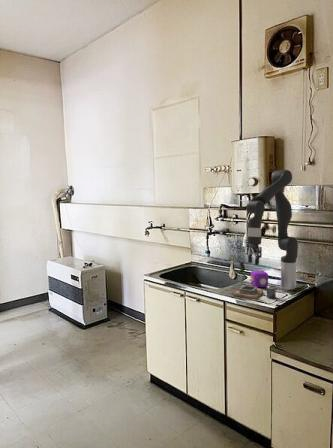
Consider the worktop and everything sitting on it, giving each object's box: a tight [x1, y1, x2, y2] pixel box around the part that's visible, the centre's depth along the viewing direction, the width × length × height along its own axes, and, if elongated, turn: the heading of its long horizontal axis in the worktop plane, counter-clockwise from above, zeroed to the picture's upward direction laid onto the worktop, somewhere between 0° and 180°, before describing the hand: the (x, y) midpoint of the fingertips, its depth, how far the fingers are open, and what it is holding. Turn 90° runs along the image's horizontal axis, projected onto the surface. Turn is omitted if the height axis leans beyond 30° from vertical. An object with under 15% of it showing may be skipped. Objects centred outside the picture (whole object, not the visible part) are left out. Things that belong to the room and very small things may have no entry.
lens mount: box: [232, 284, 264, 300], centre depth 211 cm, size 14×14×4 cm
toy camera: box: [250, 269, 269, 288], centre depth 227 cm, size 11×14×10 cm
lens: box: [266, 284, 277, 300], centre depth 203 cm, size 5×5×7 cm
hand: (253, 263), depth 198 cm, fingers open, 8 cm apart
